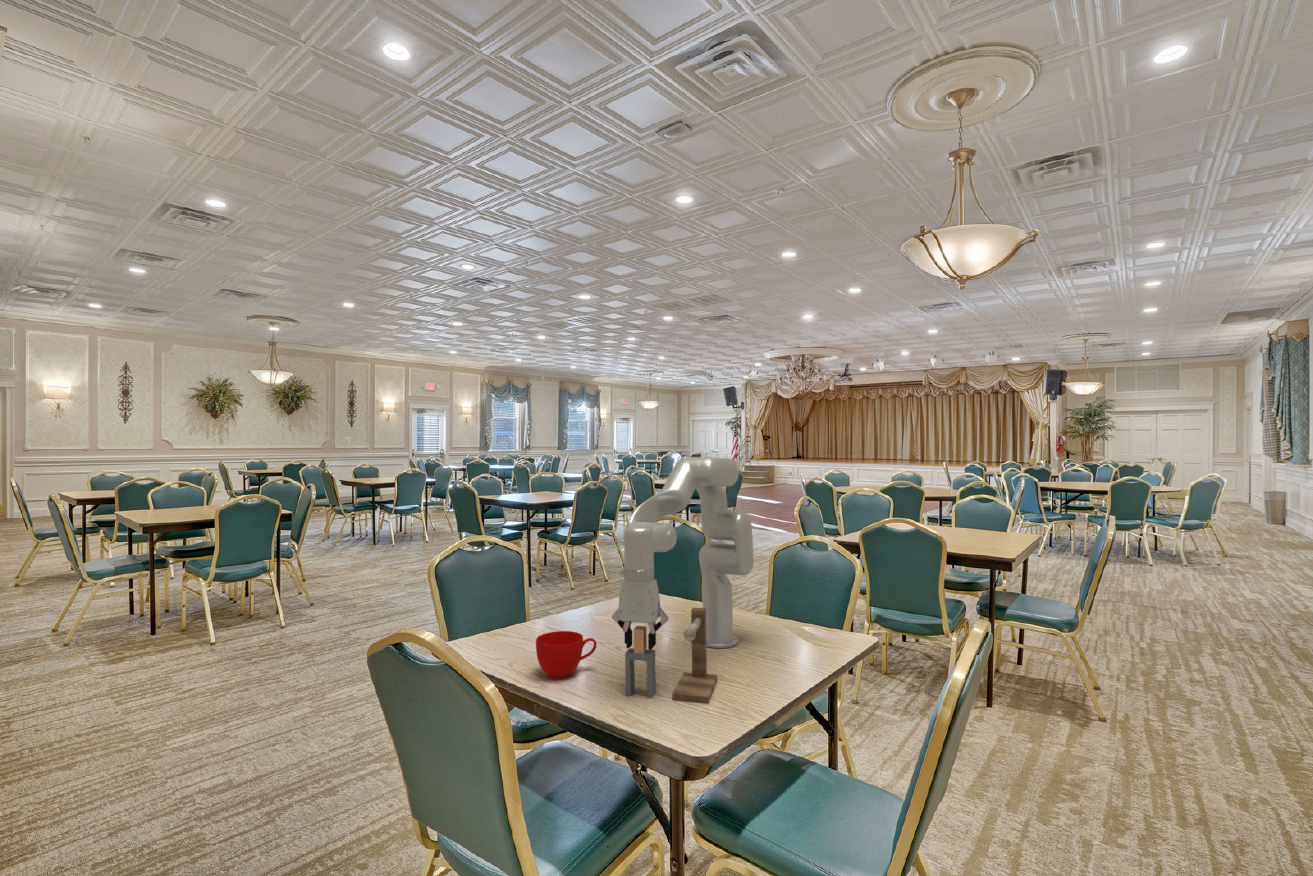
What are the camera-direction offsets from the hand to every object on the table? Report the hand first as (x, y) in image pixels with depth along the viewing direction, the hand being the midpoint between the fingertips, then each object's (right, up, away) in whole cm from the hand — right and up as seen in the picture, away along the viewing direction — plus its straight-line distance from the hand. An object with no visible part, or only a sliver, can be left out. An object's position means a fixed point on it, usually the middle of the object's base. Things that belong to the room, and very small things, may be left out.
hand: (640, 646), depth 149 cm
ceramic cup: (-21, -13, +14) cm, 28 cm away
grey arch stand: (0, -12, 0) cm, 12 cm away
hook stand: (+14, -12, +2) cm, 18 cm away
